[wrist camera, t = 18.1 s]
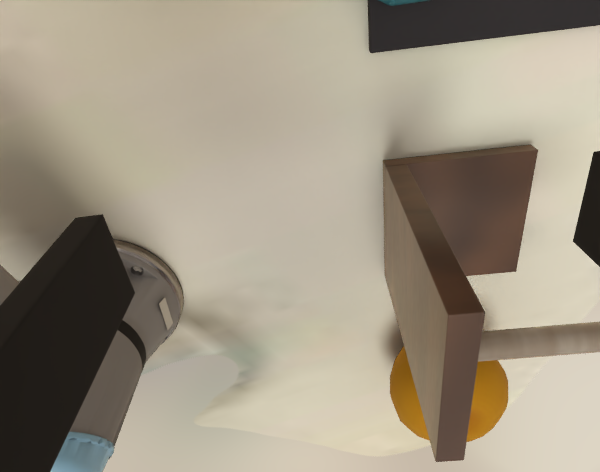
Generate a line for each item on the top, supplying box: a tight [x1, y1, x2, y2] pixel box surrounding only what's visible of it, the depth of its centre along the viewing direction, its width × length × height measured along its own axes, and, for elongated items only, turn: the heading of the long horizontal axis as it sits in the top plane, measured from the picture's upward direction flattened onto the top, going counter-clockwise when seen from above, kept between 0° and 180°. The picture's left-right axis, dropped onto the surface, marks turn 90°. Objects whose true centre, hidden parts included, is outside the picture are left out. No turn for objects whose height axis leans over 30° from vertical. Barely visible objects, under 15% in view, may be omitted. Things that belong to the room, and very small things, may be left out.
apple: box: [390, 347, 508, 442], centre depth 51 cm, size 13×13×11 cm
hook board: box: [383, 145, 600, 462], centre depth 36 cm, size 15×14×22 cm
